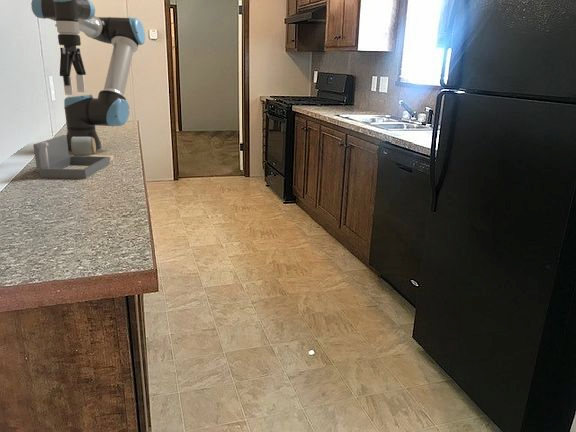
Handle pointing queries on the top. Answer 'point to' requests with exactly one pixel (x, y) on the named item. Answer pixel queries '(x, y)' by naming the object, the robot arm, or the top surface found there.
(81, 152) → the ceramic mug
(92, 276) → the top surface
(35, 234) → the top surface
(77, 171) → the case
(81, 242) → the top surface
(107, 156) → the beige square panel
